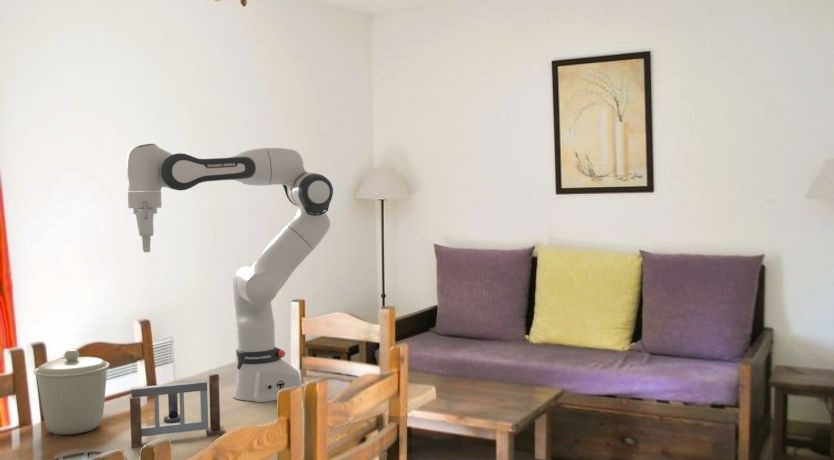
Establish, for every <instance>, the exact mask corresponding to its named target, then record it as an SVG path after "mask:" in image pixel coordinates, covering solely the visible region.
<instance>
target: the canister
mask: <svg viewBox="0 0 834 460" xmlns="http://www.w3.org/2000/svg"><path fill="white" fill-rule="evenodd" d="M110 366H111V365H110V363H109V362H108V361H105V360H104V359H102V358H100V357H94V356H93V357H92V356H80V352H79V350H77V349H73V348H72V349H67V350H66V351H65V352H64V358H59V359H53V360H50V361H47V362H44V363H42V364H41V365H39V366H38V367H37V368H35V369H34V370H33V374H34V375H35V376H36V378H37V385H38V391H39V397H40V403H41V404H40V405H41V409H42V415H43V419H44V424H45V427H46V429H47V430H48V432H50V433H52V434H53V435H54V434H55V435H59V436H60V435H61V436H66V435H67V436H68V435H78V434H83V433H87V432H90V431H92V430H95V429H96V428H97V427H99V426H100V424H101V423H102V421H103V417H104V409H105V398H106V385H107V376H108V375H107V374H108V368H109V367H110Z"/></svg>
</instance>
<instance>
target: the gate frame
mask: <svg viewBox="0 0 834 460" xmlns="http://www.w3.org/2000/svg"><path fill="white" fill-rule="evenodd" d="M208 383H209V385H208V387H209V389H208V390H209V391H208V392H209V394H208V395H209V421H210V423H209V424H210V426H209V427H208V429H205V433H206V437H215V436H216V435H218V436H223V435H222V434H224V433H225V434H226V429H225V427H224V426H223V425H222V426H221V416H220V415H221V413H220V410H221V409H220V408H221V407H220V376H219V374H218V373H212V374H209V375H208ZM141 401H142V400H141V397H140V395H138V396H131V395H130V396H129V411H130V412H129V414H130V415H129V416H130V417H129V418H130V442H131V443H130V445H131V448H140V447H142V446H143V441H142V440H143V437H142V432H141V427H142V411H141V410H142V408H141V405H142V402H141ZM216 437H217V436H216Z"/></svg>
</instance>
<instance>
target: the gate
mask: <svg viewBox="0 0 834 460" xmlns="http://www.w3.org/2000/svg"><path fill="white" fill-rule="evenodd" d="M130 391H131V395H130V396H138V395H140V398H142V397H152V396H154V397H153V400H154V425H148V426H141V432H142V438H144V437H150V436H159V435H167V434H168V435H169V434H175V433H176V434H178V433H184V432H193V431H194V432H195V431H206V429H208V428H209V410H208V409H209V408H208V407H209V406H208V405H209V402H208V398H209V397H208V381H207V380H199V381H188V382H178V383H168V384H166V383H165V384H157V385H147V386H146V385H145V386H136V387H131V390H130ZM193 392H199V395H200V420H194V421H193V420H192V421H186V420H185V393H193ZM175 393H177V394H178V396H179V397H178V398H179V415H180V421H179V422H173V423H167V424H160V401H159V400H160V399H159V396H162V395H163V396H164V395H168V394H175ZM185 421H186V422H185Z"/></svg>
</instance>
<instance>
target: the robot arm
mask: <svg viewBox="0 0 834 460" xmlns="http://www.w3.org/2000/svg"><path fill="white" fill-rule="evenodd" d="M126 174H127V175H126V177H127V179H128V188H127V202H128V203H127V204H128V205H127V206H128V209H132V210H133V211H132V212H133V215H135V216H136V217H135V218H136V224H137V228H138V233H139V234H138V235H139V236H140V237H141V242H142V249H143V253H150V252H151V237H153V236H154V234H155V233H154V232H155V231H154V217H155V216H154V215H155V214H158V209H159V208H161V209H162V188H167V189H170V190H174V191H186V190H189V189H191V188H194V187H195V186H197V185H198V184H202V183H206V182H215V181H217V182H218V181H237V182H239V183H241V184H244V185H249V186H272V185H282V187H283V189H284V192H285V196H286V197H287V199H288V201H289V202H290V203H291V204H292V205H294V206H295V207H297V211H296V213H295V216H294V217H293V219H292V220H291V221H289V223H287V224H286V226H284V228H283V229H282V230H281V231H280V232H279V233H278V234H277V235H276V236H275V237H274V238H273V239H272V240H271V241H270V242H269V243H268V244H267V246H266V248H265V249H264V251H263V252H262V253H261V254H260V256H259V257H258V259H256V261H254V263H253V264H247V265H245V266H242V267H240V268H239V269H237V271H236V272H235V273H234V276H233V278H232V285H233V286H232V288H233V298H234V299H233V300H234V308H235V317H236V334H237V336H236V338H237V339H236V341H237V349H236V350H235V351H236V352H235V362H236V363H235V365H236V369H237V370H236V372H237V373H236V374H237V375H236V382H235V387H234V391H233V394H232V395H233V398H235V399H237V400H242V401H249V402H250V401H251V402H252V401H253V402H256V403H257V402H258V403H265V402H273V401H277V393H278V391H279V390H281V389H284V388H289V387H293V386H302V387H303V386H304V385H305V384H304V383H302V380H301V379H302V377H301V375H300V373H299V371H298V370H297V369H296V368H295V367H294V366H292V365H291V364H289V363H288V362H287V361H285V360H284V359H282V358H285V356H286V352H285V350H284V349H281V348H278V347H277V346H276V344H275V343H276V342H275V341H276V339H275V337H276V336H275V319H274V313H273V308H272V301H273V300H274V299H275V298H276V296H277V294H278V293H279V292H280V291H281V289H282V288H283V287H284V285H285V284H286V282H287V281H288V280H289V278H290V276H291V275H293V272H294V271H295V270H296V269H297V267H299V265H301V264H302V263H303V261H304V260H305V259H306V258H307V257H308V256H309V255H310V254H311V253H312V252H313V251H314V250H315V248H317V246H318V245H319V244H320V243H321V241H322V239H324V237H325V236H326V234H327V233H328V232H329V230H330V227H331V220H330V218H329V216H328V214H327V212H328V210H329V207H330V204H331V201H332V199H333V195H334V187H333V185H332V182H331V181H330V179H328V178H327V177H326V176H324V175H323V174H321V173H315V172H308V171H307V170H306V169H305V168H304V161H303V158H302V155H301V154H300V153H299V152H298V151H297V150H295V149H291V148H282V147H266V148H265V147H263V148H256V149H254V148H253V149H250V150H244V151H242V152H240V153H238V154H236V155H233V156H229V157H219V158H217V157H216V158H198V157H195V156H192V155H190V154H186V153H181V152H180V153H179V152H178V153H171V152H169V151H168V150H165V149H163V148H161V147H160V146H158V145H157V144H156V143H146V144H145V143H144V144H140V145H136V146H133V147H131V148H130V150H129V151H128V154H127V161H126Z"/></svg>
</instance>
